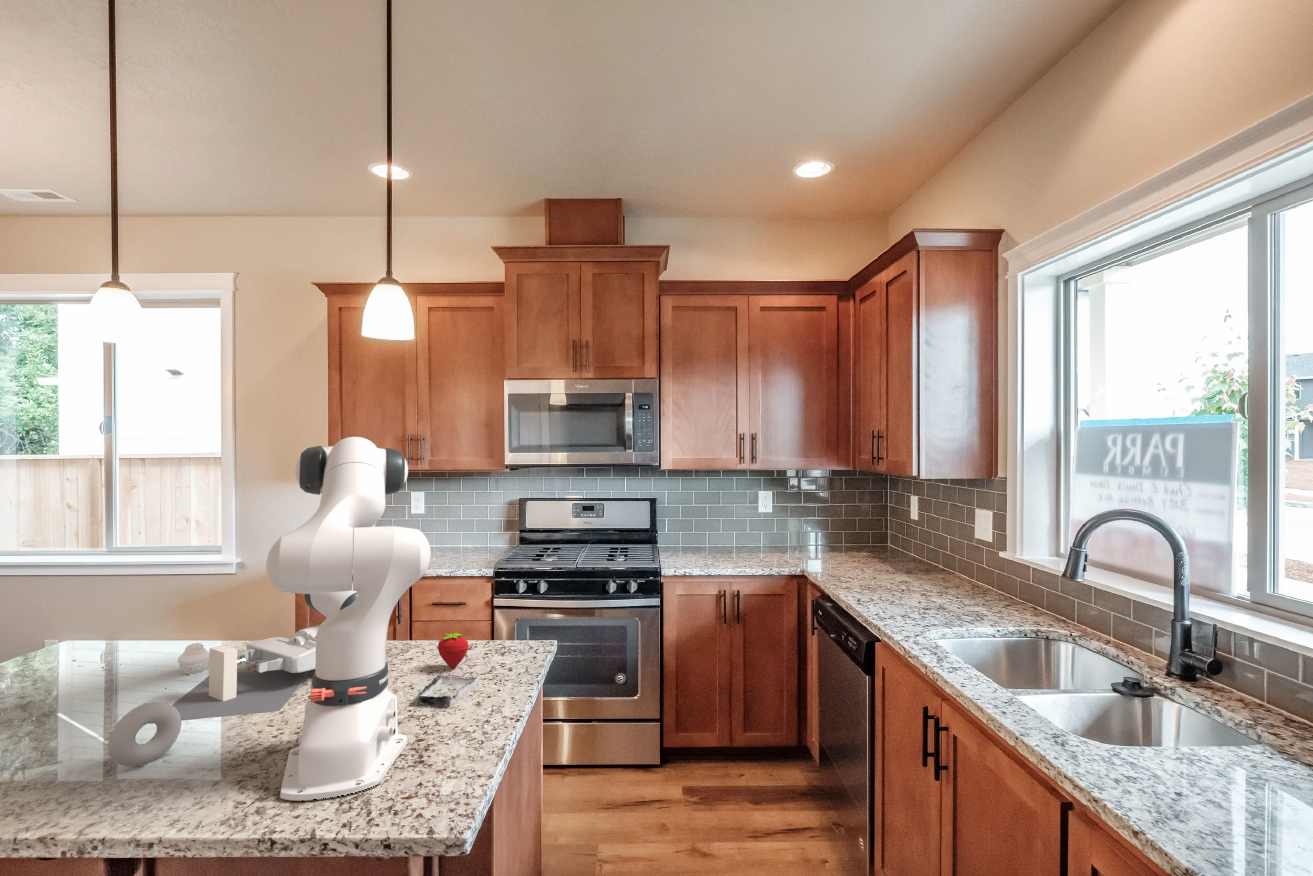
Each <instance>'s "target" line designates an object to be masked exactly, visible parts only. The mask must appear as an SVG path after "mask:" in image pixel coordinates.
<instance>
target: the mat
mask: <svg viewBox="0 0 1313 876" xmlns="http://www.w3.org/2000/svg"><path fill="white" fill-rule="evenodd" d="M313 671H314V669H313V670H309V671H305V672H300V673H290V672H287V671H284V670H281V669H280V670H271V671H265V672H262V673H260V672H258V671H256V670H248V671H237V694H236V697H235V698H232V699H229V700H226V701H221V700H218V699H216V698H214V697H211V696H209V675H208V676H207V677H206V678H205V679H203V680H202V681H200V682H199V683H198V684H197V685H195V686H194V687H193V688H192V689H191V690H189V691H188V692H187V693H185V694H184V695H182V696H181V697H180V698H179V699H178V700H177V701H176V702H174V703H172V704H171V705H172V706H174V707H176V709H177V710H178V712H179V713H180V716H181V722H183V721H189V720H200V719H201V720H202V719H210V718H222V717H223V718H224V717H230V716H231V717H232V716H241V715H243V716H244V715H253V714H262V713H272V712H280V711H281V710H282V708H284V706H285V705H286V704H287V702H288V701H289V700H290V699H291V697H292V696H293V695H294V694H295V693H296V691H297V690H298V689H299V688H300V687H301V685H302V684H303V683H304V681H305V680H306V679H307V678H308V677H309V676H310V674H311V673H312V672H313ZM148 724H149V725H151V724H152V723H148Z"/></svg>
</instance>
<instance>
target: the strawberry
mask: <svg viewBox="0 0 1313 876" xmlns="http://www.w3.org/2000/svg"><path fill="white" fill-rule="evenodd" d="M444 636H445V637H442V638H441V639H440V641H438V643H437V644H438V645H437V650H438V654H439V656H440V657H441V659H442V660H443V662H445V664H447V665H448V667H449V669H453V670H454V669H456V668H457V667H458V666H459V664H460V663H461V662H462V661H463V659H464V658H465V657H466V655H467V654H468V650H469V645H470V644H469V641H468V640H467V639H466V638H465V637H464V635H463V633H458V632H455V633H453V631H452V630H450V633H445V634H444Z"/></svg>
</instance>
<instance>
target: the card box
mask: <svg viewBox="0 0 1313 876" xmlns="http://www.w3.org/2000/svg"><path fill="white" fill-rule="evenodd" d="M209 653H210V658H209V659H208V660H209V661H208V662H209V665H208V666H209V667H208V668H209V669H208V670H209V671H208V676H209V696H211V697H214V698H216V699H218V700H221V701H226V700H229V699H232V698H235V697H236V694H237V672H238V665H237V655H238V649H237V648H233V647H230V646H227V645H224V644H221V645H217V646H213V647H210V648H209Z"/></svg>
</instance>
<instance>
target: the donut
mask: <svg viewBox="0 0 1313 876" xmlns="http://www.w3.org/2000/svg"><path fill="white" fill-rule="evenodd" d="M172 705H173V704H170V703H169V702H165V701H158V700H157V701H150V702H145V703H143V704H140V705H139V706H136V707H134V708H132V709H131V710H130V711H129V712H126V713H125V715H123V716H122V717H121V718H120V719H119V721H118V722H117V723H115V725H114V727H113V729H112V731H111V733H110V735H109V738H108V739H109V740H108V742H107V743H108V744H107V747H108V748H107V749H108V753H109V756H110V757H111V758H112V759H113V761H114V762H115V763H117V764H118V765H120V766H123V767H132V768H134V767H141V766H144V765H145V766H146V765H148V764H149V763H151V762H154V761H155V760H158V759H159V758H161V757H162V756H163V755H164V754H166V753H167V752H168V751H169V750H170V749H171V747H172V746H173V745H174V744H175V743H176V741H177V740H178V736H179V734H180V732H181V728H182V724H183V723H182V722H183V721H181V716H180V713H179V712H178V710H177V709H176V707H174V706H172ZM149 723H151V724H154V725H155V726H156V731H155V733H154V735H153V736H152V738H151V739H149V740H148V741H146V742H145V743H138V742H137V741H136V737H137V735H138V732H139V731H140V730H141V729H142V728H143V727H144V726H145V725H148V724H149Z"/></svg>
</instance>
